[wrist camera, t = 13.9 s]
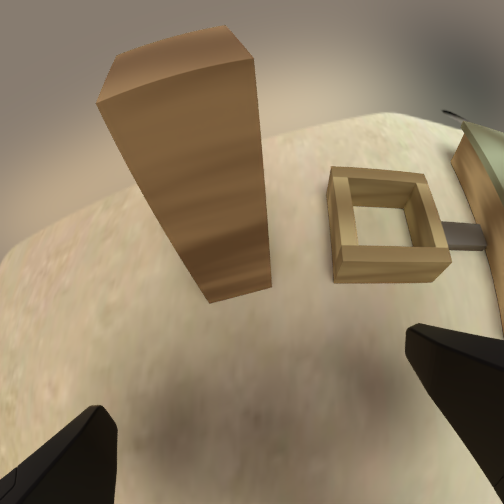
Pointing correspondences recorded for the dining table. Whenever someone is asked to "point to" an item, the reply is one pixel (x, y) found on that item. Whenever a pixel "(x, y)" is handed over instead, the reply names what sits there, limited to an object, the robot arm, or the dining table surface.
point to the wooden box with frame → (421, 217)
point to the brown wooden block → (196, 153)
